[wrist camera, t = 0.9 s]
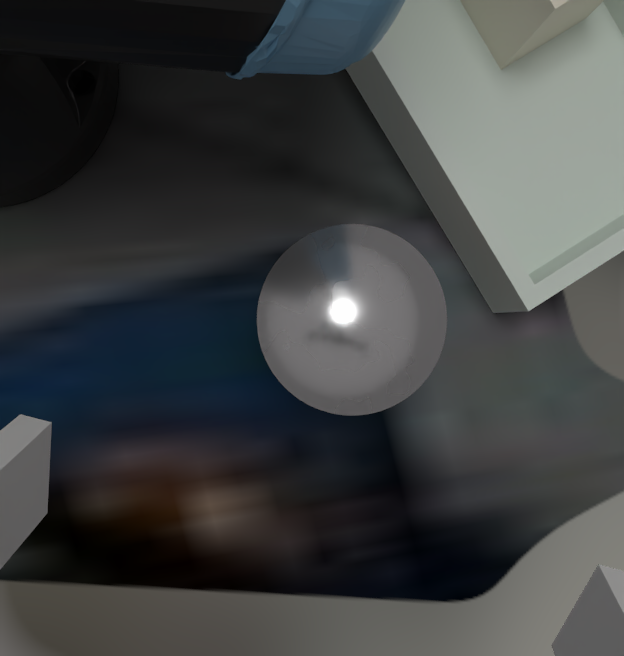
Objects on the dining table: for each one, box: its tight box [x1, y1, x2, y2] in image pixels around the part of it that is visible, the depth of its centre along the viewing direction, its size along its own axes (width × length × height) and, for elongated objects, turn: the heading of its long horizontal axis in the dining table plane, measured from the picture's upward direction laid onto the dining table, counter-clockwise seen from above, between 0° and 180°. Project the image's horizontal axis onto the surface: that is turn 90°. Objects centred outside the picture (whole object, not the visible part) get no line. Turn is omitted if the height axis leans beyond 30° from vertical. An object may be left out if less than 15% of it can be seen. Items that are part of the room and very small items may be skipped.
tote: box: [345, 0, 624, 313], centre depth 30 cm, size 22×16×4 cm
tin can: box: [257, 224, 447, 415], centre depth 25 cm, size 7×7×12 cm
